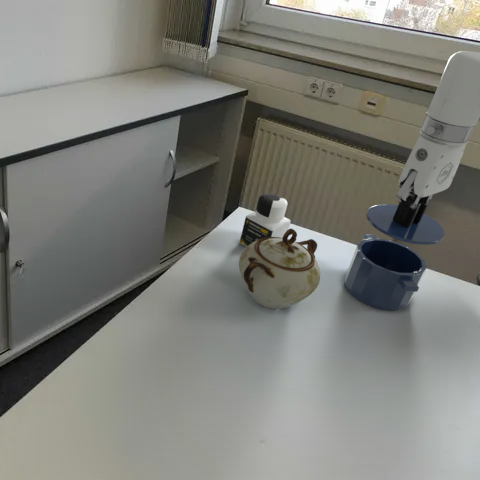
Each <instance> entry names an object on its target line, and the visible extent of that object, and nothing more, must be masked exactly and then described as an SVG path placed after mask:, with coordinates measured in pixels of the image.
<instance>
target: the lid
mask: <svg viewBox="0 0 480 480" xmlns="http://www.w3.org/2000/svg"><path fill="white" fill-rule="evenodd" d="M413 199H414V198H413ZM398 205H399V204H388V203H381V204H376V205H373V206H371V207H369V208H368V210H367V211H366V220H367V221H368V223H369V224H370V225H371V226H372V227H373V228H374V229H376V230H377V231H379V232H380V233H382V234H384V235H386V236H388V237H390V238H393V239H395V240H397V241H400V242H404V243H409V244H411V245H412V244H413V245H421V246H428V245H430V246H431V245H435V244H438V243H439V244H440V243H441V242H442V241H443V239H444V237H445V234H446V232H445V229H444V227H443V226H442V225H441V224H440V223H439V222H438V221H437V220H435V219H434V218H432V217H431V216H429V215H427V214H426V213H424V214H423V216H422V218H421V221H420V223H418V224H415V223H413V221H414V219H415V217H416V215H417V212H418V210H419V208H420V206H421V201H419V202H418V204H417V206H416V209H417V211H416V213H415V216H414V218H413V220H412V222H411V225H410V227H408V228H406V227H404V226H402V225H400V224H398V223H396V222H394V221H393V217H394V215H395V212H396V210H397V208H398Z"/></svg>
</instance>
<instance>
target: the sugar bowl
mask: <svg viewBox="0 0 480 480" xmlns="http://www.w3.org/2000/svg"><path fill="white" fill-rule="evenodd" d="M289 236H290V238H289ZM297 237H298V232H297V231H296V230H295V229H294V228H289V229H288V230H287V231H286V232H285V234H284V236H283V238H280V237H266V238H262V239H260V240H258V241H255V242H253V243H251V244H250V245H248V246H245V248H244V249H243V250H242V252H241V253H240V256H239V258H238V271H239V274H240V276H241V279H242V281H243V283H244V286H245V287H246V289H247V291H248V294H249V296H250V297H251V299H252V300H253V301H255V302H256V304H258V305H260V306H261V307H264V308H267V309H270V310H284V309H286V308H288V307H290V306H293V305H296V304H297V303H300V302H302V301H303V300H305V299H306V298H308V297H309V296H311V295H312V294H313V293H314V292H315V291H316V290H317V288H318V286H319V284H320V281H321V269H320V266H319V264H318V261H317V260H316V255H315V253H316V250H317V249H318V243H317V241H316V240H315V239H312V238H310V239H307V240H303V241H297Z"/></svg>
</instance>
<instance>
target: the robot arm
mask: <svg viewBox="0 0 480 480" xmlns="http://www.w3.org/2000/svg"><path fill="white" fill-rule="evenodd" d="M443 70H444V71H443V73H442V75H441V78H440V80H439V82H438V84H437V87H436V90H435V92H434V95H433V98H432V99H431V102H430V104H429V107H428V109H427V112H426V114H425V116H424V119H423V121H422V124H421V127H420V129H419V134H420V135H419V137H418V139H417V141H416V143H415V144H414V147H413V148H412V149H411V152H410V154H409V156H408V158H407V160H406V162H405V165H404V167H403V169H402V171H401V173H400V176H399V179H398V183H397V185H398V187H399V190H398V192H397V193H396V198H399V200H398V204H397V205H398V208H397V210H396V212H395V215H394V217H393V221H394V222H396V223H398V224H400V225H402V226H404V227H406V228H408V227H410V225H411V222H412V220H413V218H414V216H415V213H416V211H417V209H416V206H417V204H418V202H419V201H421V206H420V208H419V210H418V212H417V215H416V217H415V219H414V221H413V223H415V224H418V223H420V221H421V218H422V216H423V214H425V212H426V209H427V207H428V205H429V204H430V202H431V201H432V198H433V196H434V195H435V194H438V193H441V192H444V191H445V190H448V189H449V187H451V185H452V183H453V180H454V178H455V175H456V173H457V171H458V168H459V165H460V163H461V160H462V158H463V156H464V153H465V149H466V147H467V146H466V145H467V144H468V143H469V140H470V139H471V136H472V134H473V132H474V130H475V128H476V126H477V124H478V122H479V119H480V52H479V51H471V50H461V51H460V50H459V51H456V52H455V53H453V54H452V55H451V56H450V57H449V59H448V61H447V63H446V65H445V68H444V69H443ZM413 198H414V199H413Z"/></svg>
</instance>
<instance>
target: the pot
mask: <svg viewBox="0 0 480 480" xmlns="http://www.w3.org/2000/svg"><path fill="white" fill-rule="evenodd" d="M362 238H363V239H362V240H361V241H359V242H358V244H357V245H356V248H355V250H354V253H353V255H352V258H351V261H350V263H349V266H348V268H347V271H346V273H345V276H344V286H345V288H346V290H347V291H348V293H350V295H351V296H352V297H354V298H355V299H357V300H358V301H359V302H361V303H362V304H363V303H364V304H366V305H367V306H370V307H372V308H375V309H379V310H384V311H399V310H403V309H405V308H407V307H408V306H409V304H410V302H411V301H412V299H413V297H414V295H415V293H416V292H418V291H419V289H420V287H419V284H420V282H421V280H422V279H423V276H424V274H425V272H426V271H427V269H428V268H427V264H426V263H427V262H426V260H425V259H424V258H423V257H422V256H421V255H420V253H418V252H417V251H415V250H414V249H412V248H410V247H409V246H408V245H405V244H402V243H400V242H397V241H394V240H391V239H387V238H379V237H378V236H377V234H375V233H373V234H372V233H364V235H363V237H362Z"/></svg>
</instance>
